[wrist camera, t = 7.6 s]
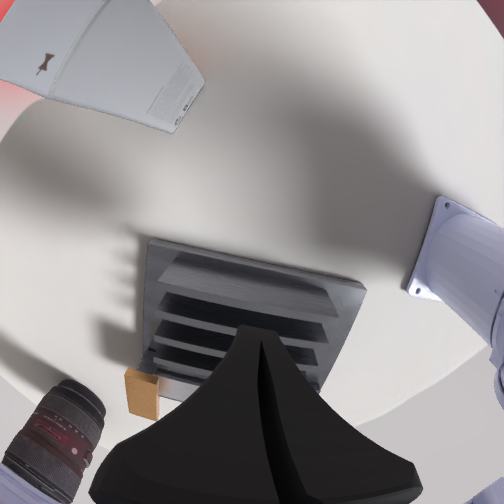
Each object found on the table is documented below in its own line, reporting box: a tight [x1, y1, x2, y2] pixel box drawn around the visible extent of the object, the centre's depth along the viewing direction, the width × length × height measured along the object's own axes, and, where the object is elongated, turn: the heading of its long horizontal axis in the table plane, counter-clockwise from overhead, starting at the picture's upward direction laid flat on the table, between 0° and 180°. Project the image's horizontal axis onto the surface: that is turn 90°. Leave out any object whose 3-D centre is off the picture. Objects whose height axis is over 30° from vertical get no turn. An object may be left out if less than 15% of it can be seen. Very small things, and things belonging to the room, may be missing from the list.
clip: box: [136, 359, 206, 401], centre depth 18 cm, size 8×2×4 cm, turn 77°
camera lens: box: [1, 380, 106, 504], centre depth 17 cm, size 8×8×15 cm
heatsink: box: [124, 238, 367, 421], centre depth 18 cm, size 15×14×5 cm
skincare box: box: [0, 0, 205, 134], centre depth 9 cm, size 6×4×12 cm
